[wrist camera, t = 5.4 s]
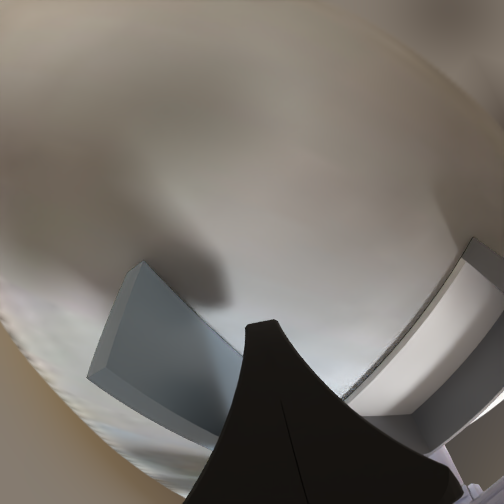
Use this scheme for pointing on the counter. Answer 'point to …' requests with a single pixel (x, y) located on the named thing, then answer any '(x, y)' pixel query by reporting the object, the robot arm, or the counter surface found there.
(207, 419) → the door
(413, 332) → the housing
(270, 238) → the counter surface
